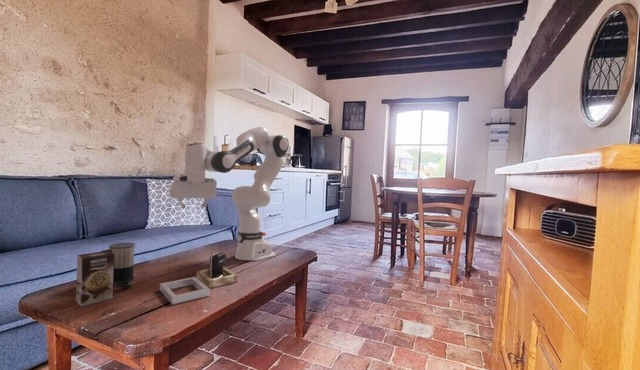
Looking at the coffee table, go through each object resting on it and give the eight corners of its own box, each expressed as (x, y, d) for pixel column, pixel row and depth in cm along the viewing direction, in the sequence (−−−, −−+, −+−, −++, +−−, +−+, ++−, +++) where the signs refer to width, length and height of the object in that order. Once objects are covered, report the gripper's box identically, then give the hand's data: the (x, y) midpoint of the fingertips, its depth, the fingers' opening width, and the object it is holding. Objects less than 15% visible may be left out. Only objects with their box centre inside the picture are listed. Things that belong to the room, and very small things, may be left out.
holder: (194, 282, 121) (194, 276, 121) (209, 295, 109) (210, 289, 109) (159, 290, 113) (160, 283, 112) (172, 304, 101) (172, 297, 101)
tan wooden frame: (223, 272, 135) (223, 266, 135) (237, 282, 124) (237, 275, 124) (196, 278, 127) (196, 271, 127) (209, 288, 116) (209, 280, 116)
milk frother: (124, 275, 126) (125, 241, 126) (151, 281, 121) (152, 245, 121) (88, 286, 113) (89, 248, 112) (117, 293, 108) (118, 253, 107)
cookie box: (81, 307, 96) (82, 258, 96) (75, 301, 100) (76, 254, 99) (113, 298, 103) (114, 253, 103) (106, 293, 107) (107, 249, 107)
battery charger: (216, 283, 122) (217, 256, 121) (208, 281, 123) (209, 254, 123) (226, 278, 128) (227, 252, 128) (219, 276, 130) (220, 251, 129)
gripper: (214, 178, 145) (213, 206, 145) (169, 176, 131) (168, 207, 132) (219, 178, 140) (218, 207, 141) (173, 177, 126) (172, 209, 127)
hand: (193, 207), depth 136 cm, fingers open, 8 cm apart
